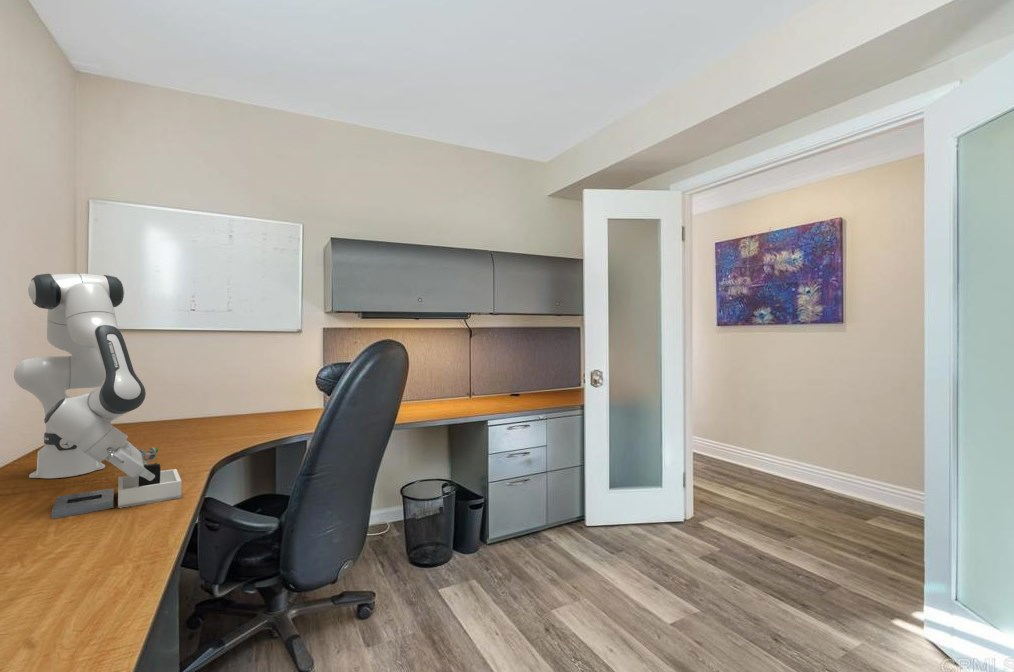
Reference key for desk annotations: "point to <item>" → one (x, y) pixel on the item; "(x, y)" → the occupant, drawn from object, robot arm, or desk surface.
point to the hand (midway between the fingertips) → (152, 474)
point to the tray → (148, 489)
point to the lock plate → (83, 503)
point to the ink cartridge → (155, 470)
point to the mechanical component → (151, 452)
